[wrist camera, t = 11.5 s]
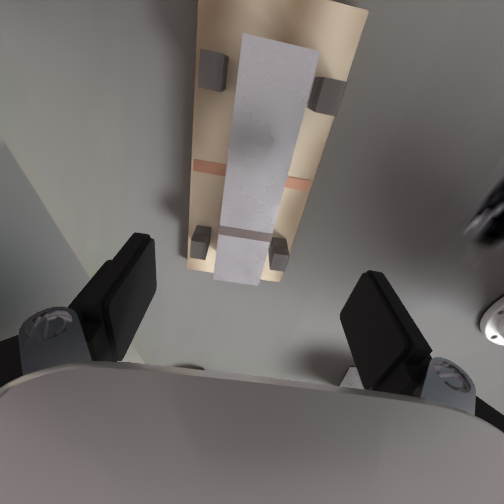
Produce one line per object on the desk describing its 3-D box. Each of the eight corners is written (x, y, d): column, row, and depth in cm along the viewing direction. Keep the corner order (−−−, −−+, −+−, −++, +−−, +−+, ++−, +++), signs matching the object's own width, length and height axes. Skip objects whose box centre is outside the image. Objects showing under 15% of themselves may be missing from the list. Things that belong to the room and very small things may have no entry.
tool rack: (361, 15, 18) (389, -2, 14) (279, 274, 31) (282, 300, 27) (203, -26, 16) (188, -55, 13) (189, 261, 30) (180, 286, 26)
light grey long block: (307, 56, 18) (321, 51, 14) (258, 258, 28) (259, 286, 24) (244, 41, 17) (241, 32, 14) (218, 252, 27) (212, 279, 24)
